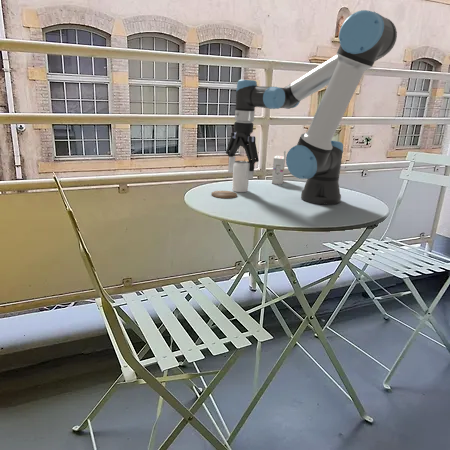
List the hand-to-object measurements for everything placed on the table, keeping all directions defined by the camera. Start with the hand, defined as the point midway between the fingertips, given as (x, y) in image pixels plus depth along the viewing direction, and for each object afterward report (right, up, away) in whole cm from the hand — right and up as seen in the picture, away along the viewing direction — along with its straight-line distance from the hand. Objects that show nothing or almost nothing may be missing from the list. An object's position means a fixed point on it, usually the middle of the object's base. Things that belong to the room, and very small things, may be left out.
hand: (240, 175), depth 160 cm
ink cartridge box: (+18, -1, +21) cm, 28 cm away
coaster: (-7, -8, -6) cm, 12 cm away
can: (0, -6, +2) cm, 7 cm away
